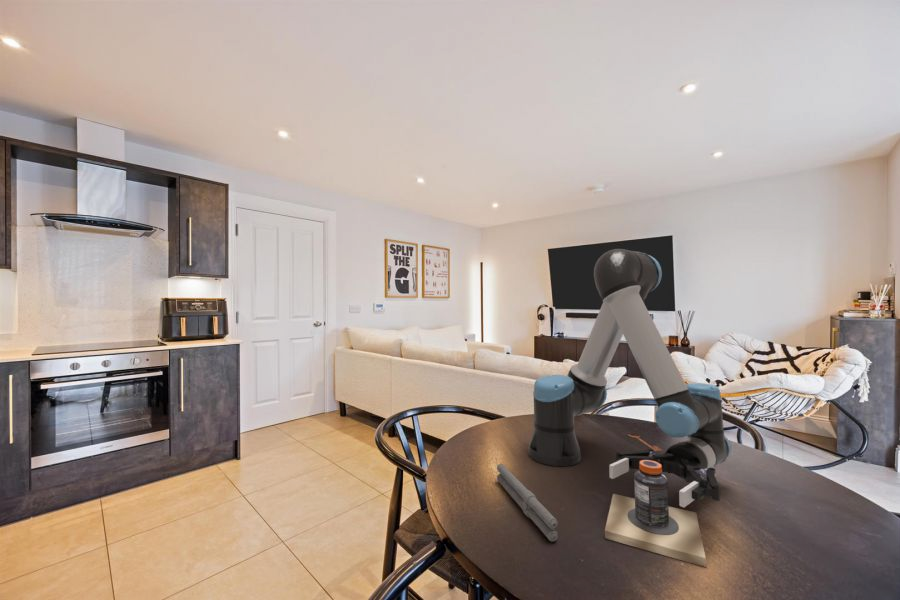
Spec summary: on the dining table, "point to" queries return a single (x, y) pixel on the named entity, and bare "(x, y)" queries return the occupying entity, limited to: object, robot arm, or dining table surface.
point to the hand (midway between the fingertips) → (643, 484)
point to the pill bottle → (651, 494)
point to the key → (645, 442)
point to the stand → (656, 532)
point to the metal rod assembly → (528, 503)
